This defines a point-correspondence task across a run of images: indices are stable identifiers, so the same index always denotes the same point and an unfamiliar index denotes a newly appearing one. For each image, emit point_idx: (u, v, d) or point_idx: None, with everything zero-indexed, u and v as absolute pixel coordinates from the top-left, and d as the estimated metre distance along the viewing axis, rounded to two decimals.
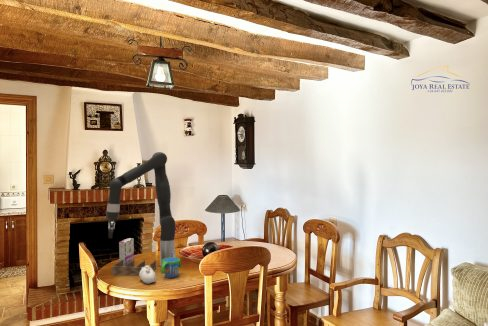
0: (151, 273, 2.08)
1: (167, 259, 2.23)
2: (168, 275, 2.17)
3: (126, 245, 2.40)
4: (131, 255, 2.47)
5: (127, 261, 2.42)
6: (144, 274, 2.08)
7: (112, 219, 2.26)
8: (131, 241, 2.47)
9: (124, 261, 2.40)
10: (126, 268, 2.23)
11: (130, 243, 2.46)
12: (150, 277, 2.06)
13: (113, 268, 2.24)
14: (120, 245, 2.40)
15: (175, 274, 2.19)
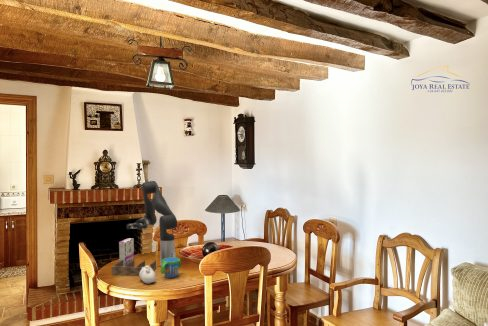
0: (151, 273, 2.08)
1: (167, 259, 2.23)
2: (168, 275, 2.17)
3: (126, 245, 2.40)
4: (131, 255, 2.47)
5: (127, 261, 2.42)
6: (144, 274, 2.08)
7: None
8: (131, 241, 2.47)
9: (124, 261, 2.40)
10: (126, 268, 2.23)
11: (130, 243, 2.46)
12: (150, 277, 2.06)
13: (113, 268, 2.24)
14: (120, 245, 2.40)
15: (175, 274, 2.19)
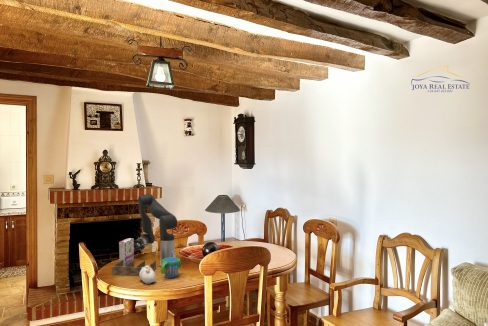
0: (151, 273, 2.08)
1: (167, 259, 2.23)
2: (168, 275, 2.17)
3: (126, 245, 2.40)
4: (131, 255, 2.47)
5: (127, 261, 2.42)
6: (144, 274, 2.08)
7: None
8: (131, 241, 2.47)
9: (124, 261, 2.40)
10: (126, 268, 2.23)
11: (130, 243, 2.46)
12: (150, 277, 2.06)
13: (113, 268, 2.24)
14: (120, 245, 2.40)
15: (175, 274, 2.19)
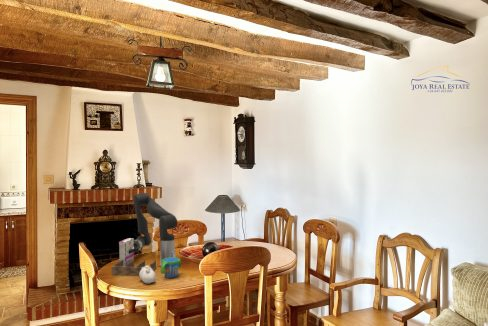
0: (151, 273, 2.08)
1: (167, 259, 2.23)
2: (168, 275, 2.17)
3: (126, 245, 2.40)
4: (131, 255, 2.47)
5: (127, 261, 2.42)
6: (144, 274, 2.08)
7: None
8: (131, 241, 2.47)
9: (124, 261, 2.40)
10: (126, 268, 2.23)
11: (130, 243, 2.46)
12: (150, 277, 2.06)
13: (113, 268, 2.24)
14: (120, 245, 2.40)
15: (175, 274, 2.19)
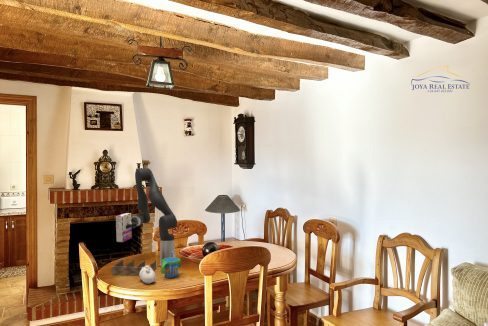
0: (151, 273, 2.08)
1: (167, 259, 2.23)
2: (168, 275, 2.17)
3: (123, 219, 2.28)
4: (128, 230, 2.35)
5: (124, 236, 2.30)
6: (144, 274, 2.08)
7: None
8: (129, 216, 2.35)
9: (121, 236, 2.28)
10: (126, 268, 2.23)
11: (128, 218, 2.34)
12: (150, 277, 2.06)
13: (113, 268, 2.24)
14: (116, 220, 2.28)
15: (175, 274, 2.19)
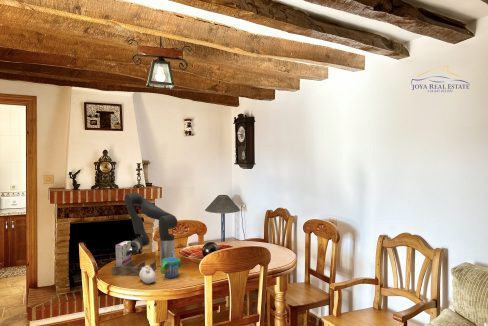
0: (151, 273, 2.08)
1: (167, 259, 2.23)
2: (168, 275, 2.17)
3: (123, 248, 2.26)
4: (128, 259, 2.32)
5: (124, 265, 2.27)
6: (144, 274, 2.08)
7: None
8: (128, 244, 2.33)
9: (121, 265, 2.26)
10: (126, 268, 2.23)
11: (127, 246, 2.32)
12: (150, 277, 2.06)
13: (113, 268, 2.24)
14: (116, 249, 2.26)
15: (175, 274, 2.19)
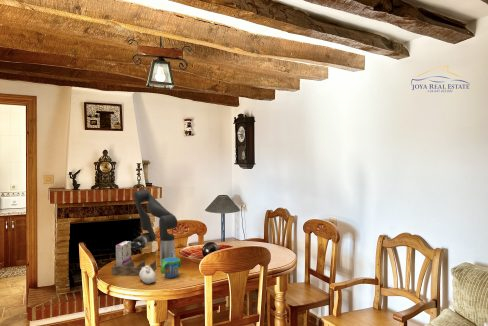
0: (151, 273, 2.08)
1: (167, 259, 2.23)
2: (168, 275, 2.17)
3: (123, 248, 2.26)
4: (128, 259, 2.32)
5: None
6: (144, 274, 2.08)
7: None
8: (128, 244, 2.33)
9: None
10: (126, 268, 2.23)
11: (127, 247, 2.32)
12: (150, 277, 2.06)
13: (113, 268, 2.24)
14: (116, 249, 2.26)
15: (175, 274, 2.19)
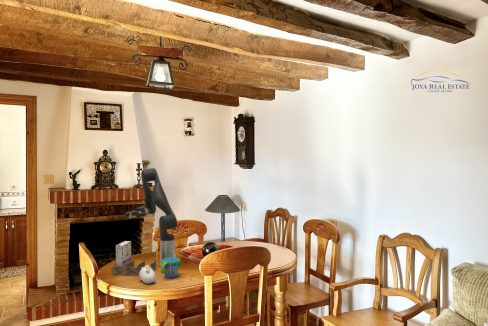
0: (151, 273, 2.08)
1: (167, 259, 2.23)
2: (168, 275, 2.17)
3: (123, 248, 2.26)
4: (128, 259, 2.32)
5: None
6: (144, 274, 2.08)
7: None
8: (128, 244, 2.33)
9: None
10: (126, 268, 2.23)
11: (127, 247, 2.32)
12: (150, 277, 2.06)
13: (113, 268, 2.24)
14: (116, 249, 2.26)
15: (175, 274, 2.19)
